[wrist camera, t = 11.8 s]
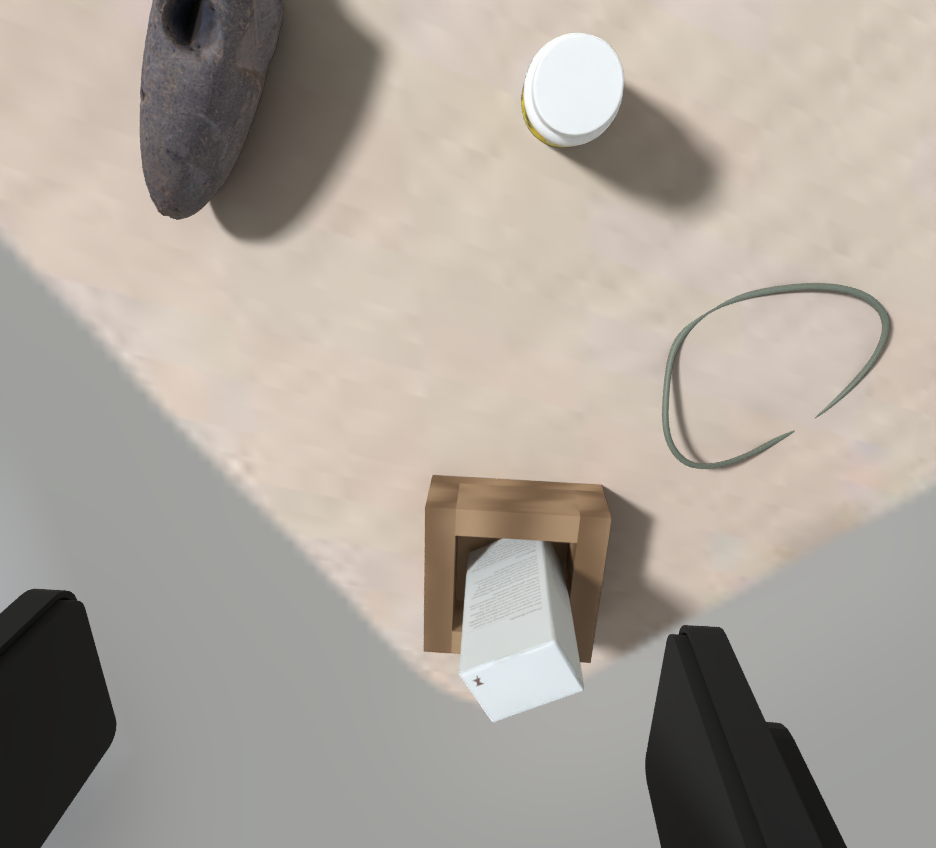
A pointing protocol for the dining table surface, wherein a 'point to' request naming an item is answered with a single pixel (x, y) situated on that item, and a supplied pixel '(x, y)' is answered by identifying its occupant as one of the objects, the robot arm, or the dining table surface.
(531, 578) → the skincare box
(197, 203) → the perforated stone tool
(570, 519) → the holder
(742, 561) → the dining table surface
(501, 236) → the dining table surface
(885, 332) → the loop
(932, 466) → the dining table surface
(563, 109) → the supplement bottle
